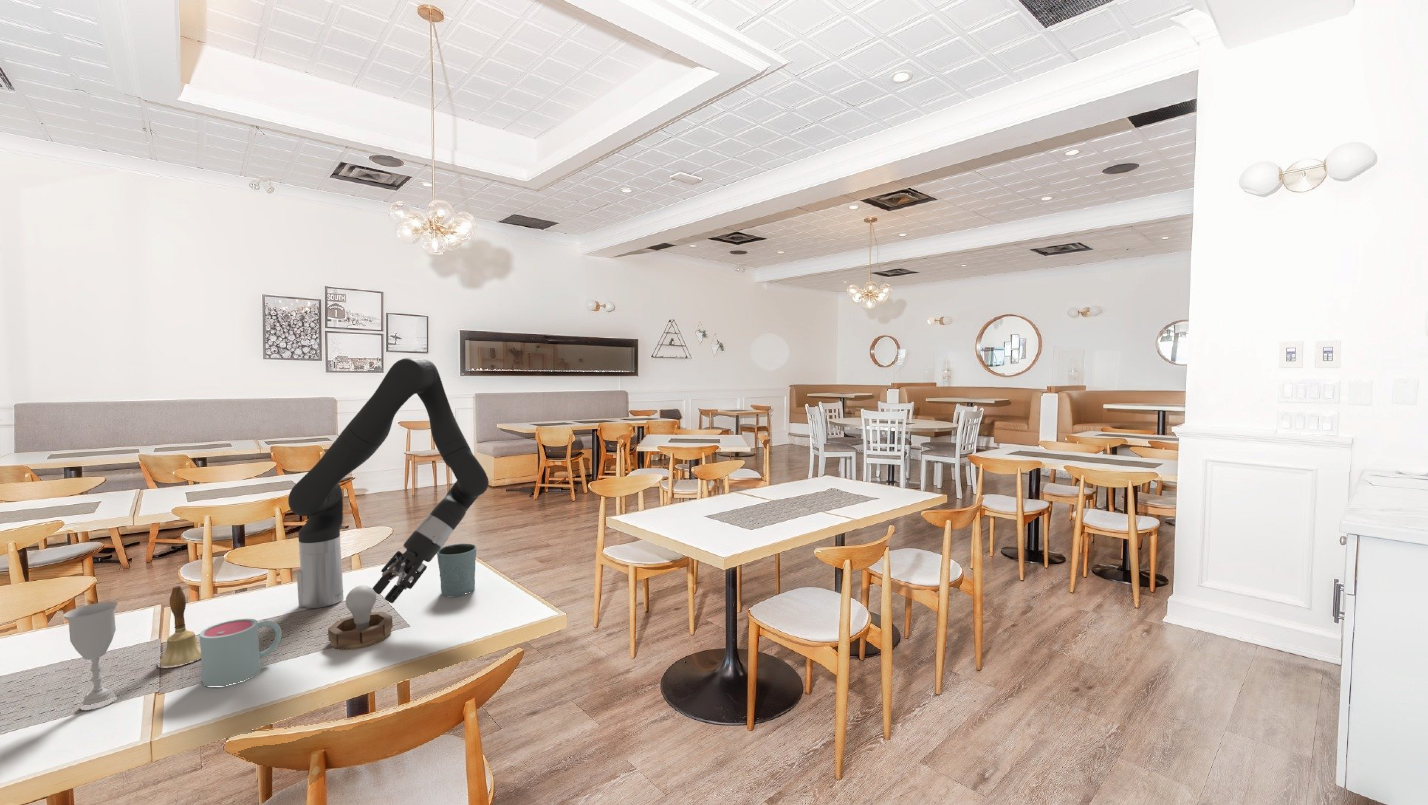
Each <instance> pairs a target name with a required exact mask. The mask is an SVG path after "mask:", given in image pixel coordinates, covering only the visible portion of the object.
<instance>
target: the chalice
mask: <svg viewBox="0 0 1428 805" xmlns="http://www.w3.org/2000/svg"><path fill="white" fill-rule="evenodd" d="M117 606H118V602H116V601H104V602H103V601H101V602H97V603H92V604H87V605H83V606H79V607H76V608H74V609H71V610H69V611H66V612H65V613H64V614H63V617H64V618H65V619H66V620H67V621H68V630H69V641H70V643H71V645H72V647H73V648H74V649H75V651H76V652H77V653H78V654H79V655H80V656H81V657H82V658H83V659H84V660H88V661H89V660H90V661H91V667H90V669H89V671H90V672H91V673H92V677H91V678H90V679H89V681H90V682H92V683H93V688H92V690H91V691H89V692H87V693H86V695H85V696H84V697H83V701H82V702H81V705H82V704H83V705H91V704H94V703H99V702H102V701H105V700H108V699H110V698H111V697H113V696H114V695H115V692H113V690H112V689H111V688H110V687H104V686H103V685H102V683H101V682H102V679H103V678H104V677H105V676H104V675H102V674H101V671H102V670H101V669H102V668H103V666H102V665H101V664H100V658H101V657H102V656H104V655H106V653H107V652H108V650H109V647H110V646H111V644H112V641H113V639H114V637H115V633H116V630H117V628H116V618H115V617H116V616H115V615H116V614H115V611H116V608H117Z"/></svg>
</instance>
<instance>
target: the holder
mask: <svg viewBox="0 0 1428 805" xmlns="http://www.w3.org/2000/svg"><path fill="white" fill-rule="evenodd" d="M393 624H394V623H393V615H391V614H388V613H387V612H385V611H373V612H372V611H371V614H370V621H369V628H367V629H363V630H359V631H356V624H355V623H354V618H353V615H351V616H350V615H349V616H347V617H344V618H340V619H339V620H337V621H335V622H334V623H333V624H332V625H330V626H329V627H328V628H327V631H328V632H327V636H328V641H329V642H330V646H331V647H332V648H334V649H336V650H341V651H343V650H355V649H361V648H366V647H370V646H373V645H375V644H378V643H380V642H382V641H384V640H386V639H387V638H388V637H390V635H391V633H392V629H393Z"/></svg>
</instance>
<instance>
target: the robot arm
mask: <svg viewBox="0 0 1428 805" xmlns="http://www.w3.org/2000/svg"><path fill="white" fill-rule="evenodd" d="M442 381H443V380H442V378H441V375H440V372H439V370H438V368H437V366H436V365H435V363H433V361H431V360H429V359H428V358H422V357H406V358H402V359H399V360H398V361H396V362H394V364H392V366H391V367H390V368H389V370H388V371H387V373H386V375H385V376H384V378H383V379H382V380H381V382H380V384H379V385H378V387H377V388H376V390H375V391H374V393H373V394H372V396H371V397H370V398H369V399H368V400H367V401H366V403H365V404H364V405H363V406H362V408H361V409H360V410H358V412H357V413H356V415H355V416H354V417H353V418H352V419H351V420H350V421H349V423H348V424H347V425H346V426H345V427H344V429H343V430H342V431H341V433H340V434H339V435H338V437H336V440H335V441H333V443H332V444H331V445H330V446H329V448H328V449H326V452H325V453H324V454H323V455H322V457H321V458H320V459H319V460H318V462H316V463H315V465H314V466H313V467H312V468H311V469H310V470H309V471H308V472H307V473H306V474H305V475H304V476H303V477H302V478H301V479H300V480H299V481H297V483H295V485H294V486H293V487H292V489H291V490H290V492H289V494H288V502H287V503H288V507H289V509H290V510H291V512H292V513H293V514H294V515H297V516H300V517H308V518H307V520H306V522H305V524H304V525H303V526H302V527H301V528H300V529H299V530H298V538H297V539H298V550H299V552H298V554H299V565H300V566H299V567H300V568H299V569H298V570H297V571H296V581H297V596H298V597H297V599H298V608H307V609H317V608H323V607H330V606H333V605H335V604H338V603H339V602H341V601H343V599H344V584H343V582H344V581H343V568H342V567H343V566H342V565H343V564H342V548H341V547H342V546H341V528H342V525H343V522H344V521H343V520H344V515H343V514H344V499H343V498H344V497H343V489H342V487H341V485H340V481H342V480H343V479H345V477H346V476H347V475H349V474H350V473H352V472H353V471H355V470H356V469H357V468H359V467H360V466H361V465H363V464H364V463H366V462H367V460H369V459H370V458H371V457H372V456H373V455H374V454H375V453H376V452H377V450H379V448H380V447H381V446H382V445H383V443H384V442H385V441H386V439H387V438H388V436H389V434H390V431H391V429H392V424H393V421H394V418H395V416H396V414H397V413H398V411H399V410H400V409H401V408H402V407H403V405H404V404H405V403H406V402H407V401H408V400H409V399H410V398H411V397H412V396H414V395H415V394H416V395H417V396H418V398H419V399H420V400H421V402H422V403H423V405H424V407H425V409H426V413H427V416H428V419H429V425H430V432H431V437H432V439H433V442H434V445H435V447H436V449H437V451H438V453H439V454H440V457H441V459H442V460H443V462H444V464H446V466H447V467H448V468H450V469H451V470H450V471H451V472H452V473H453V475H454V477H455V479H456V481H455V482H454V484H453V485H452V486H451V488H450V489H449V491H448V492H447V493H446V495H445V496H444V498H443V499H442V500H440V501H439V503H437V505H436V506H435V507H434V508H433V509H432V510H431V512H430V513H429V514H428V516H426V517H425V518H424V519H423V520H422V522H421V523H419V525H418V526H417V527H416V529H415V530H414V531H413V532H412V533H411V534H410V536H409V537H408V538H407V539H406V541H405V542H404V543H403V548H405V550H406V551H404V552H401V551H400V550H398V551H396V552H395V554H394V555H392V557H391V559H389V560H388V562H387V563H386V564H384V566H383V567H382V568H381V570H380V572H382V573H381V577H380V578H379V579H378V581H377V582H376V583H375V584H374V586H372V587H371V588H372V589H373V590H374V591H375V593H376V595H380V594H382V593H383V592H384V590H385V589H386V588H387V586H388V585H389V584H390V583H391V581H392V580H393V579H395V578H397V577H398V578H397V581H396V584H394V585H393V587H391V589H390V590H389V592H388V593H387V594H386V595H385V596H384V600H385V601H387V603H390V604H394V603H395V601H396V600H397V599H398V598H399V597H400V595H401V594H402V593H403V591H404V590H405V591H406V590H407V589H409V590H411V589H413V587H414V586H415V585H416V584H417V582H418V580H419V579H420V578H421V576H422V575H423V574H424V572H425V571H426V570H427V566H428V565H426V564H424V563H423V562H426V563H430V562H431V561H432V560H433V559H434V557H435V556H437V552H438V551H439V550H440V548H442V547H444V546H445V545H444V544H445V543H446V542H447V541H448V539H449V538H450V536H451V535H452V533H453V532H454V530H455V529H456V528H457V526H458V525H459V524H460V523H461V522H462V520H463V519H464V517H465V516H466V513H467V511H468V510H469V509H470V507H471V506H472V505H473V503H475V501H476V500H477V499H478V498H479V497H480V496H481V495H484V493H485V492H486V491H487V490H488V487H489V485H490V483H489V482H490V481H489V478H488V475H487V473H486V471H485V470H484V467H483V466H482V465H481V463H480V462H479V461H478V459H477V457H476V456H475V455H474V454H473V452H472V449H471V447H470V445H469V443H468V442H467V440H466V438H465V436H464V434H463V432H462V430H461V428H460V425H459V423H458V422H457V420H456V418H455V415H454V412H453V411H452V407H451V406H450V403H449V399H448V397H447V394H446V390H445V389H444V386H443V382H442Z"/></svg>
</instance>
